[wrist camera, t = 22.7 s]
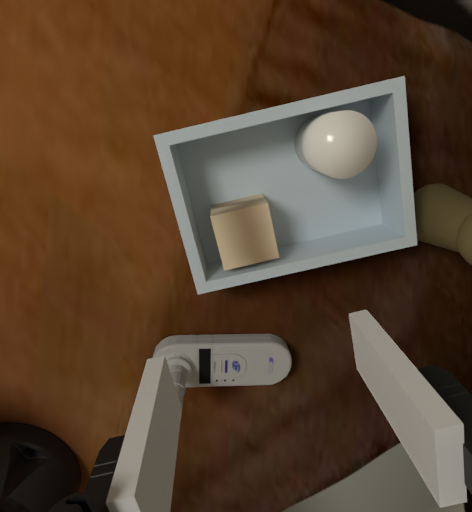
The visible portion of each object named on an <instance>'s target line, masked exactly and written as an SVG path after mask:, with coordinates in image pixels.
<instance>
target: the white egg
mask: <svg viewBox="0 0 472 512" xmlns="http://www.w3.org/2000/svg"><path fill="white" fill-rule="evenodd" d="M294 146H295V152H296V154H297V156H298V158H299V160H300V161H301V162H302V163H303V164H304V165H306V166H307V167H309V168H311V169H314V170H316V171H318V172H321V173H323V174H325V175H328V176H330V177H333V178H337V179H346V178H350V177H353V176H356V175H358V174H359V173H361V172H362V171H363V170H365V169H366V168H367V166H368V165H369V164H370V163H371V161H372V159H373V157H374V155H375V152H376V148H377V135H376V131H375V128H374V126H373V125H372V123H371V122H370V120H369V119H368V118H367V117H365V116H364V115H363V114H361V113H359V112H356V111H351V110H344V111H336V112H329V113H322V114H316V115H313V116H311V117H309V118H308V119H306V120H305V121H304V122H303V123H302V124H301V125H300V127H299V128H298V130H297V132H296V135H295V141H294Z"/></svg>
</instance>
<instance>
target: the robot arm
mask: <svg viewBox="0 0 472 512" xmlns="http://www.w3.org/2000/svg"><path fill="white" fill-rule="evenodd" d="M349 319H350V326H351V333H352V340H353V347H354V354H355V361H356V368H357V370H358V372H359V373H360V375H361V377H362V378H363V380H364V382H365V383H366V385H367V387H368V388H369V390H370V392H371V393H372V395H373V397H374V398H375V400H376V402H377V403H378V405H379V407H380V408H381V410H382V412H383V413H384V415H385V417H386V418H387V420H388V422H389V423H390V425H391V427H392V428H393V430H394V432H395V433H396V435H397V437H398V438H399V440H400V442H401V443H402V445H403V447H404V448H405V450H406V452H407V453H408V455H409V457H410V458H411V460H412V462H413V464H414V465H415V467H416V469H417V470H418V472H419V474H420V475H421V477H422V479H423V480H424V482H425V483H426V485H427V487H428V489H429V490H430V492H431V493H432V495H433V497H434V499H435V500H436V502H437V504H438V505H439V507H440V508H441V507H446V506H450V505H454V504H460V503H464V502H467V491H466V487H467V488H468V490H469V491H470V492H471V494H472V395H471V394H470V393H468V391H467V390H466V389H465V388H464V387H463V386H462V385H460V382H459V381H458V380H457V379H456V378H455V377H454V376H453V375H452V374H451V373H450V372H448V371H446V370H444V369H442V368H440V367H438V366H437V365H431V366H427V367H422V368H418V369H417V368H416V367H415V366H414V365H413V364H412V362H411V361H410V360H409V359H408V358H407V357H406V355H405V354H404V353H403V352H402V351H401V350H400V348H399V347H398V346H397V345H396V344H395V342H394V341H393V340H392V339H391V338H390V337H389V335H388V334H387V333H386V332H385V331H384V330H383V328H382V327H381V326H380V325H379V324H378V322H377V321H376V320H375V319H374V318H373V317H372V315H371V314H370V313H369V312H368V311H367V310H363V311H358V312H354V313H349ZM181 411H182V406H181V403H180V400H179V397H178V394H177V391H176V388H175V385H174V382H173V379H172V376H171V373H170V370H169V367H168V364H167V361H166V358H165V355H164V356H160V357H155V358H151V359H147V362H146V365H145V369H144V372H143V376H142V379H141V382H140V386H139V389H138V393H137V396H136V400H135V403H134V407H133V410H132V414H131V417H130V420H129V424H128V427H127V431H126V434H125V435H123V436H118V437H114V438H109V439H108V441H107V442H106V443H105V445H104V446H103V447H102V449H101V450H100V451H99V454H98V456H97V459H96V462H95V467H94V468H93V470H92V473H91V479H89V482H88V485H87V487H86V490H85V493H77V492H78V489H79V486H80V480H81V474H80V468H79V464H78V462H77V460H76V458H75V456H74V454H73V453H72V452H71V450H70V449H69V448H68V447H67V446H66V445H65V444H64V443H63V442H62V441H61V440H59V439H58V438H57V437H55V436H53V435H52V434H50V433H48V432H46V431H44V430H42V429H39V428H36V427H33V426H29V425H25V424H18V423H0V512H170V507H171V499H172V490H173V481H174V472H175V464H176V455H177V446H178V437H179V429H180V420H181Z"/></svg>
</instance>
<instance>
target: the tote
mask: <svg viewBox="0 0 472 512" xmlns="http://www.w3.org/2000/svg"><path fill="white" fill-rule="evenodd" d="M344 110H351V111H356V112H359V113H361V114H363V115H364V116H365V117H367V118H368V119H369V120H370V122H371V123H372V125H373V126H374V128H375V131H376V135H377V148H376V152H375V155H374V157H373V159H372V161H371V163H370V164H369V165H368V166H367V168H366V169H365V170H363V171H362V172H361V173H359V174H358V175H356V176H353V177H350V178H346V179H337V178H333V177H330V176H328V175H325V174H323V173H321V172H318V171H316V170H314V169H311V168H309V167H307V166H306V165H304V164H303V163H302V162H301V161H300V160H299V158H298V156H297V154H296V152H295V146H294V141H295V135H296V132H297V130H298V128H299V127H300V125H301V124H302V123H303V122H304V121H305V120H306V119H308V118H309V117H311V116H313V115H316V114H322V113H329V112H336V111H344ZM153 136H154V140H155V143H156V147H157V151H158V154H159V158H160V161H161V165H162V168H163V172H164V176H165V179H166V183H167V186H168V190H169V193H170V197H171V201H172V204H173V208H174V211H175V215H176V218H177V222H178V226H179V229H180V233H181V236H182V240H183V243H184V247H185V250H186V254H187V258H188V261H189V265H190V268H191V272H192V275H193V279H194V283H195V286H196V290H197V293H198V294H202V293H207V292H211V291H216V290H220V289H224V288H229V287H233V286H238V285H242V284H247V283H251V282H256V281H260V280H264V279H269V278H273V277H278V276H282V275H287V274H291V273H296V272H300V271H304V270H309V269H313V268H318V267H322V266H327V265H331V264H336V263H340V262H345V261H349V260H353V259H358V258H362V257H367V256H371V255H376V254H380V253H385V252H389V251H393V250H398V249H402V248H407V247H411V246H416V245H417V233H416V220H415V206H414V193H413V180H412V166H411V153H410V140H409V127H408V113H407V100H406V87H405V76H402V77H398V78H394V79H389V80H385V81H381V82H377V83H373V84H368V85H364V86H360V87H356V88H351V89H347V90H343V91H339V92H335V93H330V94H326V95H322V96H318V97H314V98H309V99H305V100H301V101H297V102H292V103H288V104H284V105H280V106H276V107H271V108H267V109H263V110H259V111H255V112H250V113H246V114H242V115H238V116H233V117H229V118H225V119H221V120H217V121H212V122H208V123H204V124H200V125H196V126H191V127H187V128H183V129H179V130H174V131H170V132H166V133H162V134H158V135H153ZM261 193H262V195H263V196H264V198H265V199H266V201H267V202H268V205H269V210H270V215H271V220H272V225H273V229H274V234H275V239H276V244H277V249H278V253H279V258H276V259H272V260H268V261H263V262H259V263H255V264H250V265H246V266H242V267H238V268H233V269H229V270H225V271H224V268H223V264H222V260H221V257H220V253H219V249H218V245H217V241H216V237H215V233H214V230H213V226H212V222H211V218H210V213H211V205H215V204H219V203H223V202H227V201H231V200H236V199H240V198H244V197H248V196H252V195H257V194H261Z"/></svg>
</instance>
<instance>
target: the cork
mask: <svg viewBox="0 0 472 512" xmlns="http://www.w3.org/2000/svg"><path fill="white" fill-rule="evenodd" d="M414 206H415V220H416V233H417V240H418V241H421V242H425V243H428V244H432V245H435V246H439V247H442V248H446V249H449V250H452V251H456V252H459V253H460V254H461V255H462V257H463V258H464V259H465V260H466V262H468V263H469V264H471V265H472V198H470V197H468V196H466V195H464V194H462V193H460V192H459V191H457V190H455V189H453V188H451V187H449V186H447V185H444V184H438V183H436V184H429V185H426V186H424V187H422V188H420V189H418V190H417V191H416V192H415V193H414Z"/></svg>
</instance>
